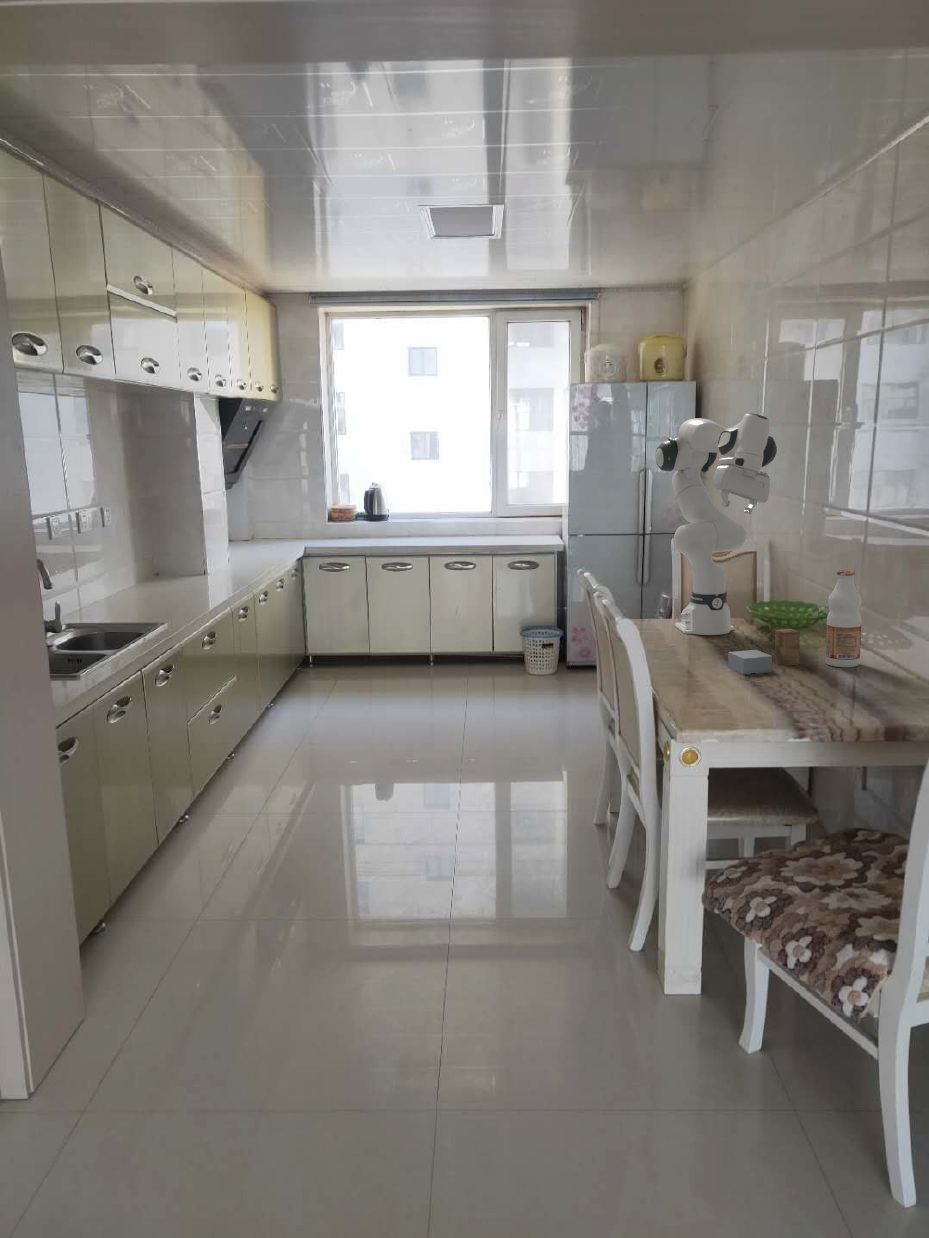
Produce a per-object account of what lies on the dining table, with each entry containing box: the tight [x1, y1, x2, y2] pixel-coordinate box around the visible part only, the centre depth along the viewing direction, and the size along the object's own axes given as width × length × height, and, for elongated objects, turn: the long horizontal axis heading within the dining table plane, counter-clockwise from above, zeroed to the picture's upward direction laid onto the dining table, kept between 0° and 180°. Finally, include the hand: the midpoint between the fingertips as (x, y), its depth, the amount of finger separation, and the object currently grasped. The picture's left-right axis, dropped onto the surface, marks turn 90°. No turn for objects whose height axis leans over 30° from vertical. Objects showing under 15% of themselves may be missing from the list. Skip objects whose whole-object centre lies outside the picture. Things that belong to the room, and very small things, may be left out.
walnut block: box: [774, 628, 801, 666], centre depth 271 cm, size 5×5×10 cm
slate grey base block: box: [727, 649, 773, 676], centre depth 266 cm, size 9×9×5 cm
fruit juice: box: [825, 569, 863, 668], centre depth 266 cm, size 9×9×28 cm
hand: (736, 510), depth 277 cm, fingers open, 8 cm apart
